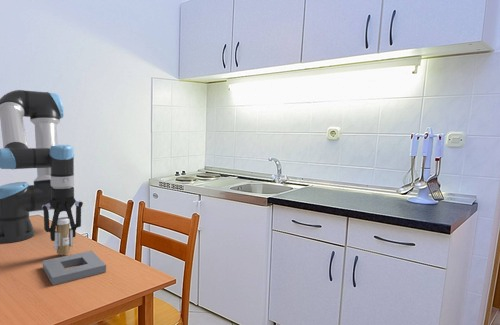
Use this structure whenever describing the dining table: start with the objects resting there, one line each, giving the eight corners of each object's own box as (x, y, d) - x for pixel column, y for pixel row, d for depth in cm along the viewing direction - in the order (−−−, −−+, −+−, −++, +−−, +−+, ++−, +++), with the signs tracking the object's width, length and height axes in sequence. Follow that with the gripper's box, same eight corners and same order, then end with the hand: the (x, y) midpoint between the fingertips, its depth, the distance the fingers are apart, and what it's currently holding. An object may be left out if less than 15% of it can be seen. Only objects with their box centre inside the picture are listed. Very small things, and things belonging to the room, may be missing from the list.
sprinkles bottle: (69, 254, 122) (69, 219, 121) (55, 255, 120) (55, 220, 119) (70, 249, 126) (70, 216, 125) (57, 250, 124) (56, 216, 123)
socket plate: (42, 267, 113) (42, 260, 112) (91, 256, 123) (91, 250, 123) (52, 285, 101) (52, 277, 100) (106, 271, 111) (106, 264, 111)
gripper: (36, 190, 112) (38, 255, 114) (90, 186, 123) (90, 245, 126) (32, 186, 117) (34, 248, 120) (84, 183, 129) (85, 239, 132)
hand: (63, 246), depth 123 cm, fingers closed on sprinkles bottle, 4 cm apart
